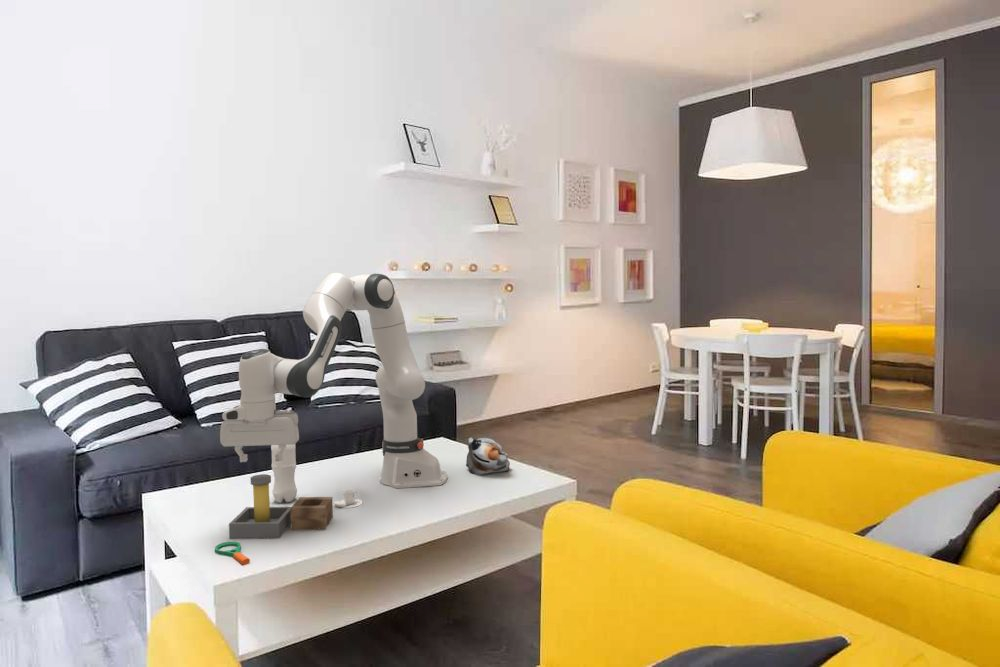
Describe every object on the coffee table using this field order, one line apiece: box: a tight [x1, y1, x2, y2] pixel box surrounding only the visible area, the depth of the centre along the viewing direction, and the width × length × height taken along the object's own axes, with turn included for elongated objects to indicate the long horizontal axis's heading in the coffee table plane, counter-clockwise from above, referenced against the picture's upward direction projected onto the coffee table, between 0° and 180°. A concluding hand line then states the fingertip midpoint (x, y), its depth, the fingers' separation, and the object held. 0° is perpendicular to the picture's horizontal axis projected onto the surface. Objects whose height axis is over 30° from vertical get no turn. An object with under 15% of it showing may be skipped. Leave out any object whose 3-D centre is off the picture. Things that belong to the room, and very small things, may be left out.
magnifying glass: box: [214, 541, 251, 566], centre depth 170 cm, size 15×6×2 cm, turn 41°
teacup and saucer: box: [333, 489, 363, 509], centre depth 207 cm, size 9×8×4 cm
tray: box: [228, 506, 292, 540], centre depth 187 cm, size 13×13×4 cm
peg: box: [249, 473, 272, 522], centre depth 186 cm, size 5×5×14 cm
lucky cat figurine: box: [465, 437, 511, 476], centre depth 239 cm, size 17×14×16 cm
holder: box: [290, 496, 334, 531], centre depth 191 cm, size 9×9×6 cm
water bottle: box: [270, 443, 298, 504], centre depth 210 cm, size 7×7×25 cm
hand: (261, 461), depth 185 cm, fingers open, 8 cm apart
